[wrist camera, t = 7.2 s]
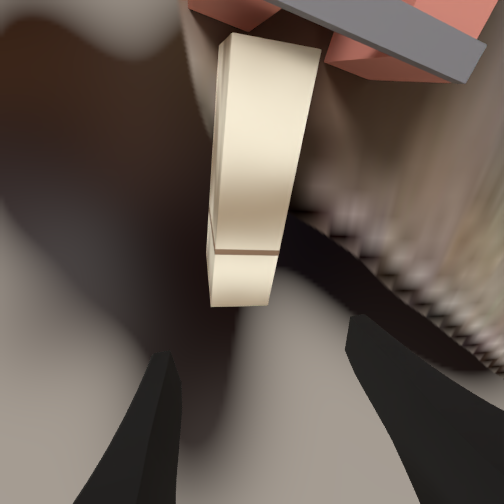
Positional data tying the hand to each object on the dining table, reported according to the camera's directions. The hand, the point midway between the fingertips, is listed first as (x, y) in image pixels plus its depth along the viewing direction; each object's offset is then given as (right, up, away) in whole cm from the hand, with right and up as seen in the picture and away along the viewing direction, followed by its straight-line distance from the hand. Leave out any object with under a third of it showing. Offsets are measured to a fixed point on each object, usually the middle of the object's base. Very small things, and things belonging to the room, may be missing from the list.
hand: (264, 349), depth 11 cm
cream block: (-1, +9, +6) cm, 11 cm away
